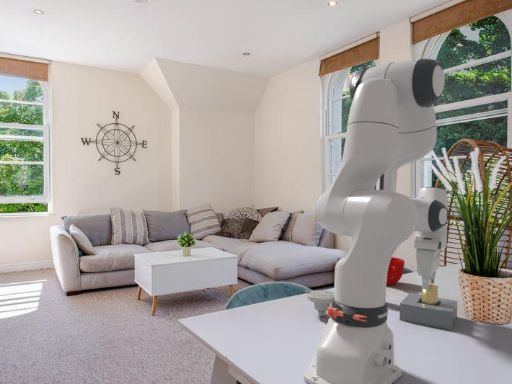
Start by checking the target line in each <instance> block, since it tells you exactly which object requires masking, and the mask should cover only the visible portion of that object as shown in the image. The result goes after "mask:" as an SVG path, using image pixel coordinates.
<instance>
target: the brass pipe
mask: <svg viewBox="0 0 512 384" xmlns="http://www.w3.org/2000/svg"><path fill="white" fill-rule="evenodd" d="M421 295H422V304H428V305H434V306H437V303H438V298H439V296H438V295H439V286H438V285H435V284H430V288H429V290H425V289H423V288H422V287H421Z"/></svg>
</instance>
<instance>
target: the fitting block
mask: <svg viewBox="0 0 512 384" xmlns="http://www.w3.org/2000/svg"><path fill="white" fill-rule="evenodd" d="M457 317H458V300H454V299H449V298H444V297H438V303H437V306H434V305H428V304H422V294H417V293H412V292H410V293H408V294H407V295H406V297H405V298H404V299H403V300H402V301H401V302H400V303H399V321H403V322H407V321H408V322H409V323H413V324H417V325H418V324H419V325H423V326H428V327H434V328H439V329H442V330H448V331H452V330H453V327H454V325H455V324H456V323H455V322H456V320H457Z"/></svg>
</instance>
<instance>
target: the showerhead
mask: <svg viewBox="0 0 512 384" xmlns="http://www.w3.org/2000/svg"><path fill="white" fill-rule="evenodd" d="M305 293H306V299H307V300H308V301H310V302H312V303H313V308H314V309H315V311H316V310H317V311H318V313H317V315H318V316H320V317H325V316H326V315H327V312H328V311H327V310H328V307H331V303H332V299H333V297H334V291H330V290H324V289H322V290H320V289H318V290H317V289H315V290H307V289H306V290H305Z"/></svg>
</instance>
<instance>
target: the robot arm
mask: <svg viewBox="0 0 512 384" xmlns="http://www.w3.org/2000/svg"><path fill="white" fill-rule="evenodd" d="M445 83H446V81H445V74H444V69H443V67H442V65H441V64H440V63H439V62H438V61H437V60H436V59H432V58H420V59H418V60H407V61H405V60H404V61H397V62H396V61H392V62H386V63H382V64H379V65H375V66H372V67H370V66H368V67H364V68H362V69H359V70H358V71H356V72H355V73H354V75H353V76H352V78H351V80H350V82H349V98H350V100H351V106H350V109H349V113H348V118H347V124H346V125H347V126H346V133H345V141H344V146H343V147H344V148H343V154H342V158H341V161H340V165H339V167H338V169H337V173H336V174H335V176H334V178H333V180H332V182H331V184H330V185H329V186H328V188H327V189H326V190H325V192H324V193H321V195H320V196H319V198H318V199H317V201H316V203H315V207H314V215H315V218H316V219H315V220H316V221H317V223H318V225H319V226H320V227H322V228H323V229H325V230H327V231H329V232H331V233H332V234H335V235H338V236H344V237H349V238H351V245H350V247H349V250H348V252H347V253H346V255H345V256H343V257H341V258H339V260H338V261H337V262H336V264H335V267H334V287H333V289H334V290H333V293H334V297H333V299H332V303H330V307H328V310H327V311H326V315H327V317H329V318H328V321H327V323H326V325H325V328H324V330H323V334H322V336H321V337H320V341H319V343H318V346H317V347H316V348H317V349H316V352H315V355H314V356H313V358H312V360H311V362H310V364H309V365H308V367H307V369H306V370H305V372H304V374H303V380H304V381H305V382H307V384H393V383H394V382H395V381H397V380H398V379H399V378H400V377H402V376H403V372H402V371H403V370H402V369H401V368H400V367H399V366H398V365H396V364H395V335H394V332H393V331H392V329H390V327H389V325H388V324H387V320H388V313H389V308H388V303H387V302H386V298H387V296H386V295H387V285H386V281H387V271H388V266H389V263H390V260H391V258H392V257H394V254H395V252H396V250H397V249H398V248H399V246H401V245H402V243H404V242H405V241H407V240H408V239H410V237H412V236H413V234H414V243H413V247H414V249H416V250H415V261H416V262H415V263H416V273H417V275H418V276H421V283H422V284H421V289H422V288H423V289H425V290H429V288H430V284H432V285H434V284H435V279H436V278H435V277H436V273H437V270H438V269H439V268H440V266H441V254H442V252H443V251H442V250H443V249H446V248H447V242H448V241H447V240H448V239H447V238H448V228H447V224H448V220H449V203H448V202H449V201H448V195H447V194H448V193H447V191H446V190H445V189H443V188H441V187H436V186H425V187H424V186H423V187H421V188H420V189H419V190H418V194H417V195H418V196H417V197H409V196H407V195H406V194H403V193H399V192H397V179H398V171H399V169H400V168H402V167H403V166H406V165H408V164H411V163H414V162H417V161H419V160H420V159H422V158H424V157H426V156H427V155H428V154H429V153H430V152H432V150H434V148H435V146H436V143H437V139H438V138H437V136H438V131H437V130H438V128H437V119H436V118H437V117H436V111H435V107H434V104H436V103H437V102H438V100H439V99H440V98H441V97H442V95H443V93H444V88H445ZM378 181H379V187H378V188H379V189H375V187H376V184H377V182H378Z"/></svg>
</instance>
